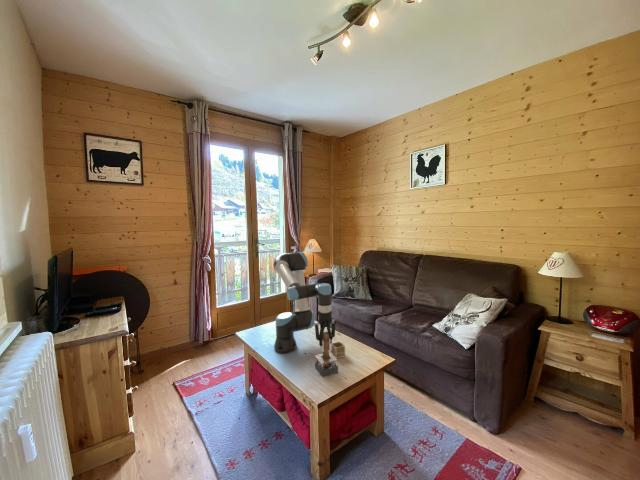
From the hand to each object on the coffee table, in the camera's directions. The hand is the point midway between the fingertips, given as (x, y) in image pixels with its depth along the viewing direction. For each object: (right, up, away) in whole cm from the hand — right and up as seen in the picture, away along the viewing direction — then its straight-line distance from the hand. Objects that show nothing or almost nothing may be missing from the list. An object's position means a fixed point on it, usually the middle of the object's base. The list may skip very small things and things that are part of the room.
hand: (325, 349), depth 157 cm
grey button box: (0, -12, +1) cm, 12 cm away
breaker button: (0, -10, +1) cm, 10 cm away
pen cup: (+8, -10, +18) cm, 22 cm away
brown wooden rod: (0, -8, +1) cm, 8 cm away
